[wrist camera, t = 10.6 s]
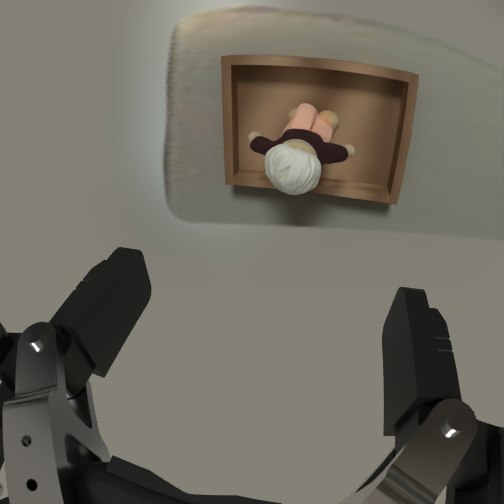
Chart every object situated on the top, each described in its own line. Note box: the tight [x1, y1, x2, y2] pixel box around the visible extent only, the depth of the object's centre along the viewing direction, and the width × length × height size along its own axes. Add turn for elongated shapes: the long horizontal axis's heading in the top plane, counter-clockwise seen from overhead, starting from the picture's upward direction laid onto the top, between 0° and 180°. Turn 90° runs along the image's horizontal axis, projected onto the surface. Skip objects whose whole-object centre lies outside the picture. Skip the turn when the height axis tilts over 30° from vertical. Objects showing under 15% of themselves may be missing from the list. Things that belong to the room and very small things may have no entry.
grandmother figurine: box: [248, 103, 355, 195], centre depth 21 cm, size 8×4×13 cm, turn 99°
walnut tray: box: [221, 55, 419, 205], centre depth 26 cm, size 16×12×2 cm
